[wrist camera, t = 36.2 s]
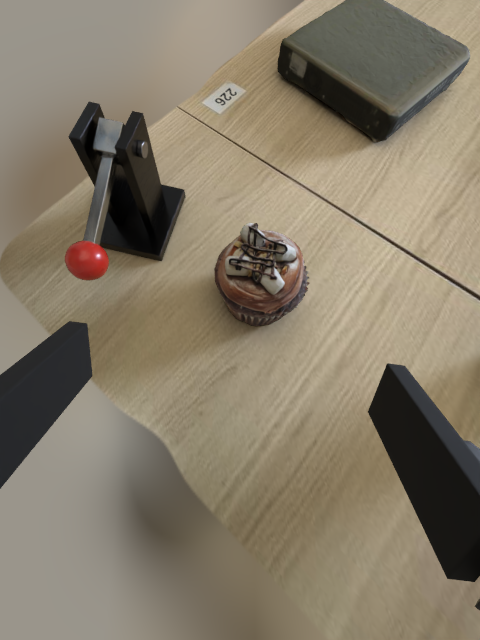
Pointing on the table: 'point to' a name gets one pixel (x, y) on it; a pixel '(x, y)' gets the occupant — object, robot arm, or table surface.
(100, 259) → the switch lever
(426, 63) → the network switch
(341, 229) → the table surface
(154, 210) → the switch bracket
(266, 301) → the cupcake
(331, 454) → the table surface
